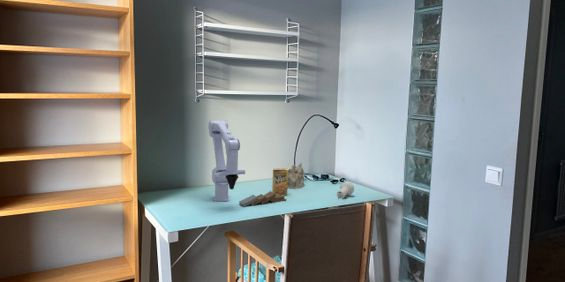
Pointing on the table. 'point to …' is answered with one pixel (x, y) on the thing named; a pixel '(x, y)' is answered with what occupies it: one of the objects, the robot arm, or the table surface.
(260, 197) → the domino
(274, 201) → the domino
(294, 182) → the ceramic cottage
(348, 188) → the pale grey rounded lump
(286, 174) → the candy box
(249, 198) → the domino
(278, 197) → the domino
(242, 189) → the table surface
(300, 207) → the table surface
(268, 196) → the domino
